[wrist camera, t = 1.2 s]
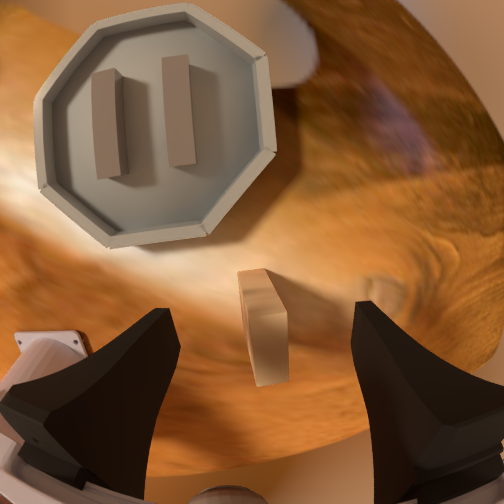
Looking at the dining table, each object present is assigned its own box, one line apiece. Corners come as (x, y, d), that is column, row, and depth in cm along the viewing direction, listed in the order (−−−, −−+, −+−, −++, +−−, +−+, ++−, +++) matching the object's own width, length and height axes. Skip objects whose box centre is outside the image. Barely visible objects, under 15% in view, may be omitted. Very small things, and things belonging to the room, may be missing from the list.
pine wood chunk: (268, 326, 24) (289, 381, 17) (243, 329, 23) (256, 386, 17) (264, 268, 22) (286, 312, 15) (237, 271, 22) (249, 317, 15)
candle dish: (274, 220, 21) (284, 229, 18) (65, 247, 19) (48, 259, 17) (255, 14, 16) (261, -5, 14) (52, 52, 15) (34, 41, 12)
